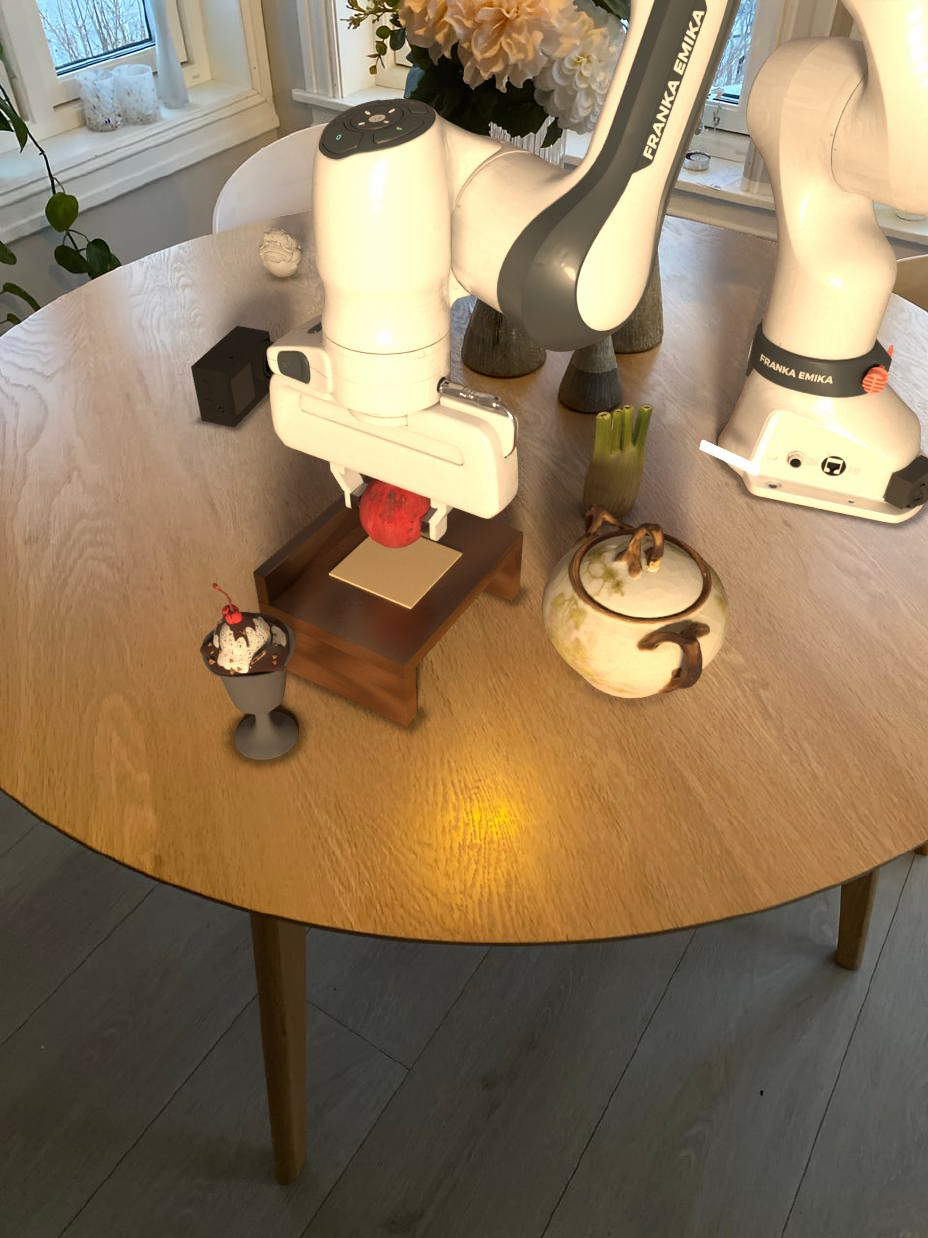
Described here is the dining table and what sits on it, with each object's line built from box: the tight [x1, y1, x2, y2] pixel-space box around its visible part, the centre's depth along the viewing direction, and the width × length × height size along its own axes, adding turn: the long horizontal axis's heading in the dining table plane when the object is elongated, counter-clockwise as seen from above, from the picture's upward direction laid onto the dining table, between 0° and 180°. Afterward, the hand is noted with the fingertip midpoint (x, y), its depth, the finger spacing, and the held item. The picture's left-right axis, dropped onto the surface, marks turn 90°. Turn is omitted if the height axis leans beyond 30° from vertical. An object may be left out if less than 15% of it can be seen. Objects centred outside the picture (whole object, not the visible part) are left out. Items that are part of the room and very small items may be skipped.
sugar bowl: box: [541, 504, 731, 699], centre depth 77 cm, size 20×15×15 cm
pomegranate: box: [359, 478, 432, 549], centre depth 76 cm, size 6×6×8 cm
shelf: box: [252, 475, 525, 728], centre depth 81 cm, size 14×19×10 cm
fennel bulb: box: [581, 404, 654, 520], centre depth 93 cm, size 6×5×12 cm
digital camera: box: [190, 325, 276, 428], centre depth 109 cm, size 10×5×7 cm, turn 161°
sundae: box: [199, 582, 299, 761], centre depth 70 cm, size 7×7×15 cm
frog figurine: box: [257, 227, 303, 278], centre depth 135 cm, size 6×7×7 cm
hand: (395, 519), depth 77 cm, fingers closed on pomegranate, 6 cm apart
